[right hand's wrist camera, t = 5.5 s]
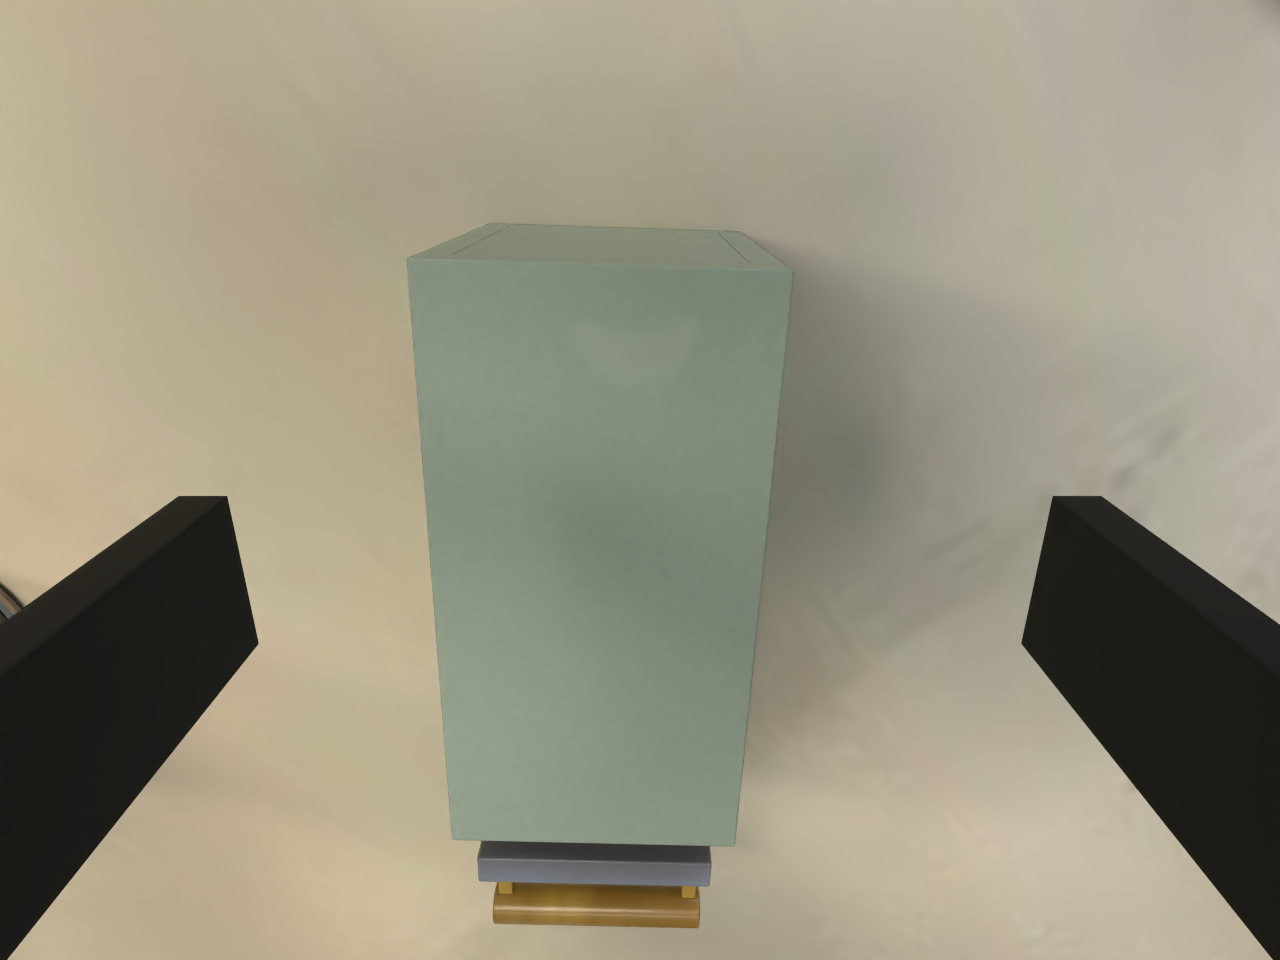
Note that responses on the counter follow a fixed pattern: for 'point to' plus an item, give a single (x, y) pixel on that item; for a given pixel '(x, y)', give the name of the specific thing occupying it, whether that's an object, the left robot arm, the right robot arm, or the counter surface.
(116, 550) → the right robot arm
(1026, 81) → the counter surface
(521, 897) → the drawer
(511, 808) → the cabinet
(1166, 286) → the counter surface
